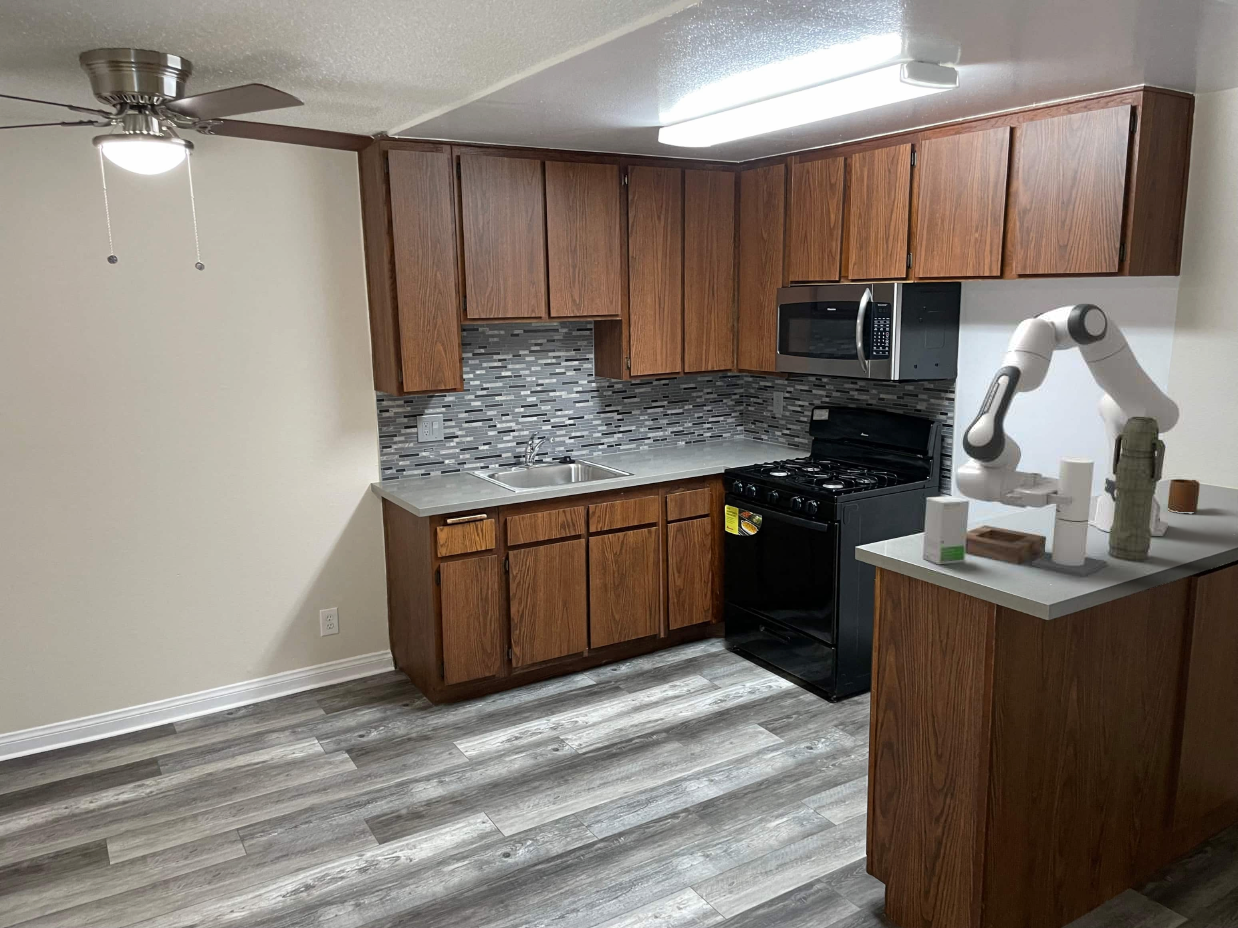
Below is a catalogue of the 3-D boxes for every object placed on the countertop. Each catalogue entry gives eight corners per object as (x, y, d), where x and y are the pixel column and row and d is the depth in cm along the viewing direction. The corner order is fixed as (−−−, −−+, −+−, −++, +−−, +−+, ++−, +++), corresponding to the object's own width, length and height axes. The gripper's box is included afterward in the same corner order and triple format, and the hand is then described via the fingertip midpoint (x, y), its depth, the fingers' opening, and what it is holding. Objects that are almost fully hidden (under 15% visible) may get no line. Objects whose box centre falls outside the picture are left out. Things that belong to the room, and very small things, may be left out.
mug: (1180, 505, 282) (1183, 476, 281) (1207, 510, 276) (1210, 480, 275) (1162, 511, 275) (1166, 480, 274) (1190, 515, 269) (1193, 484, 268)
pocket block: (984, 539, 242) (985, 525, 242) (1044, 551, 231) (1046, 536, 230) (955, 550, 232) (956, 535, 231) (1017, 564, 220) (1018, 548, 219)
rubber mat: (1055, 554, 228) (1055, 551, 228) (1106, 564, 219) (1106, 560, 219) (1031, 565, 219) (1031, 561, 218) (1083, 576, 210) (1084, 572, 210)
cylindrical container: (1074, 557, 222) (1083, 457, 218) (1090, 565, 215) (1100, 462, 211) (1045, 557, 222) (1054, 457, 218) (1060, 565, 215) (1070, 462, 211)
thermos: (1143, 564, 219) (1158, 422, 213) (1095, 553, 229) (1108, 416, 223) (1161, 559, 224) (1177, 419, 218) (1113, 548, 234) (1127, 414, 228)
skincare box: (938, 565, 219) (942, 502, 216) (920, 558, 225) (924, 497, 222) (966, 562, 222) (970, 500, 219) (948, 555, 228) (952, 494, 225)
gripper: (1002, 482, 218) (1061, 491, 208) (1038, 472, 231) (1095, 480, 222) (1000, 508, 219) (1059, 518, 209) (1036, 496, 233) (1093, 505, 223)
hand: (1078, 498), depth 215 cm, fingers open, 7 cm apart
